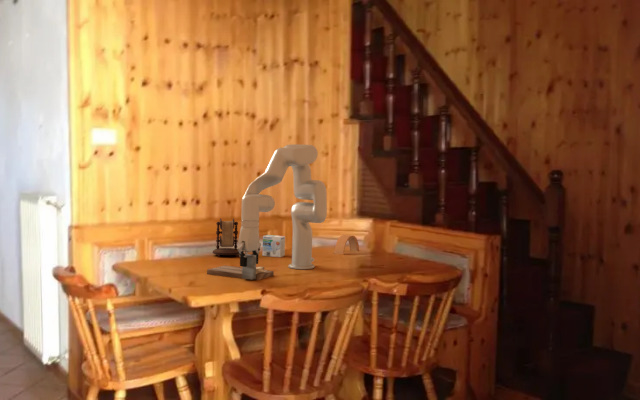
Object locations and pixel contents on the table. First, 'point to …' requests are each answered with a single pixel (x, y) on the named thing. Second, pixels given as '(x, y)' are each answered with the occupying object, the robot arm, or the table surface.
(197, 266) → the table surface
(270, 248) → the light bulb box
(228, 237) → the brown wooden chair
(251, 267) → the marking gauge
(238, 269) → the walnut board
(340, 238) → the arch
